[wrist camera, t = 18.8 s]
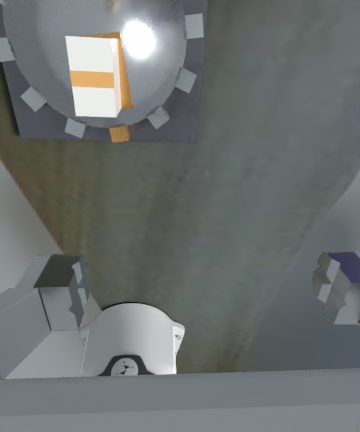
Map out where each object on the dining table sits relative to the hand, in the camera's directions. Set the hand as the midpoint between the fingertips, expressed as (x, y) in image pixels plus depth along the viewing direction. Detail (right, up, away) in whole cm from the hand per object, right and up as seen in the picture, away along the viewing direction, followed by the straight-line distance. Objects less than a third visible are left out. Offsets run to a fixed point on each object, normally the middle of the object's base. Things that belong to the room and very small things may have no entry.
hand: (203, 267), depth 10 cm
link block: (-8, +15, +17) cm, 25 cm away
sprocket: (-8, +19, +17) cm, 27 cm away
